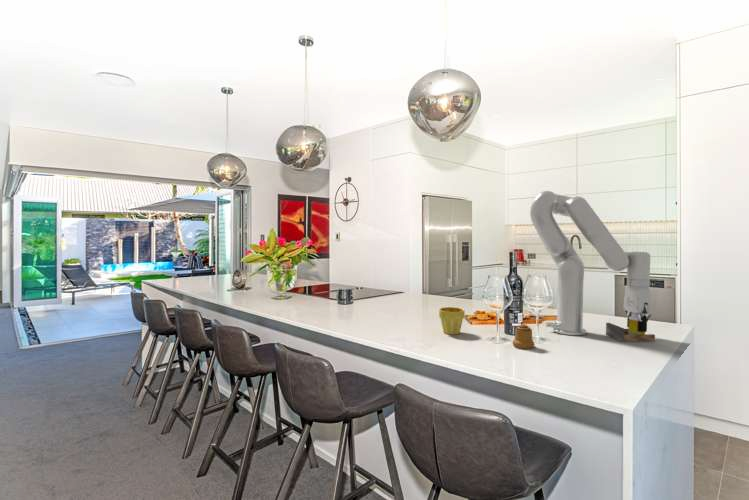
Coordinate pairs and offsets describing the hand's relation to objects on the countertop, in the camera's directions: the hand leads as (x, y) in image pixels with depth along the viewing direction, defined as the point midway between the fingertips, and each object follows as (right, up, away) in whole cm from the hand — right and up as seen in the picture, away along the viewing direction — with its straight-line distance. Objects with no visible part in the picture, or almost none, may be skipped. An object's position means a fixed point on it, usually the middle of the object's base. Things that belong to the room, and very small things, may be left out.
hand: (636, 329), depth 161 cm
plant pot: (-71, -4, +9) cm, 71 cm away
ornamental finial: (-48, -5, -11) cm, 50 cm away
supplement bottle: (0, -4, 0) cm, 4 cm away
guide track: (-3, -4, 0) cm, 4 cm away
